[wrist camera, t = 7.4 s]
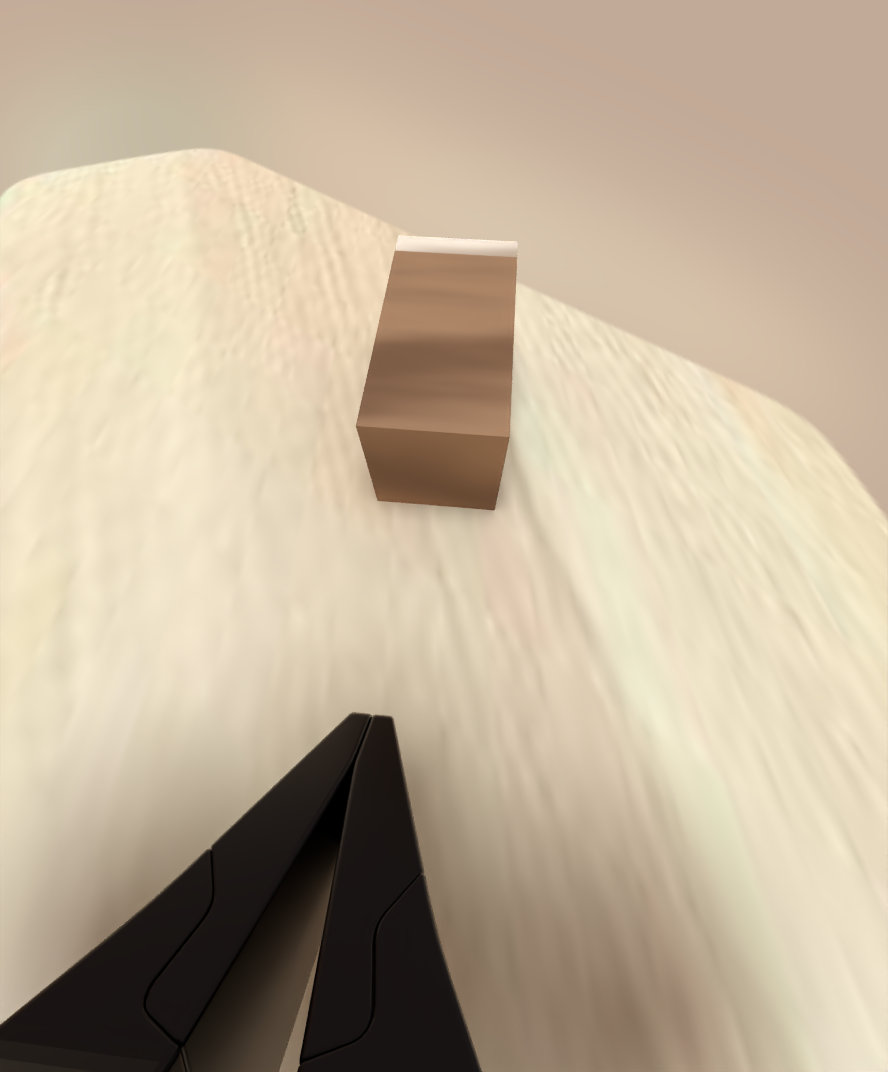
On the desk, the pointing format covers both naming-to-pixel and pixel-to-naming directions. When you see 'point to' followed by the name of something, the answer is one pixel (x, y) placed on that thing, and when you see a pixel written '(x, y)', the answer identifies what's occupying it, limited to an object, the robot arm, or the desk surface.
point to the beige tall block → (442, 373)
